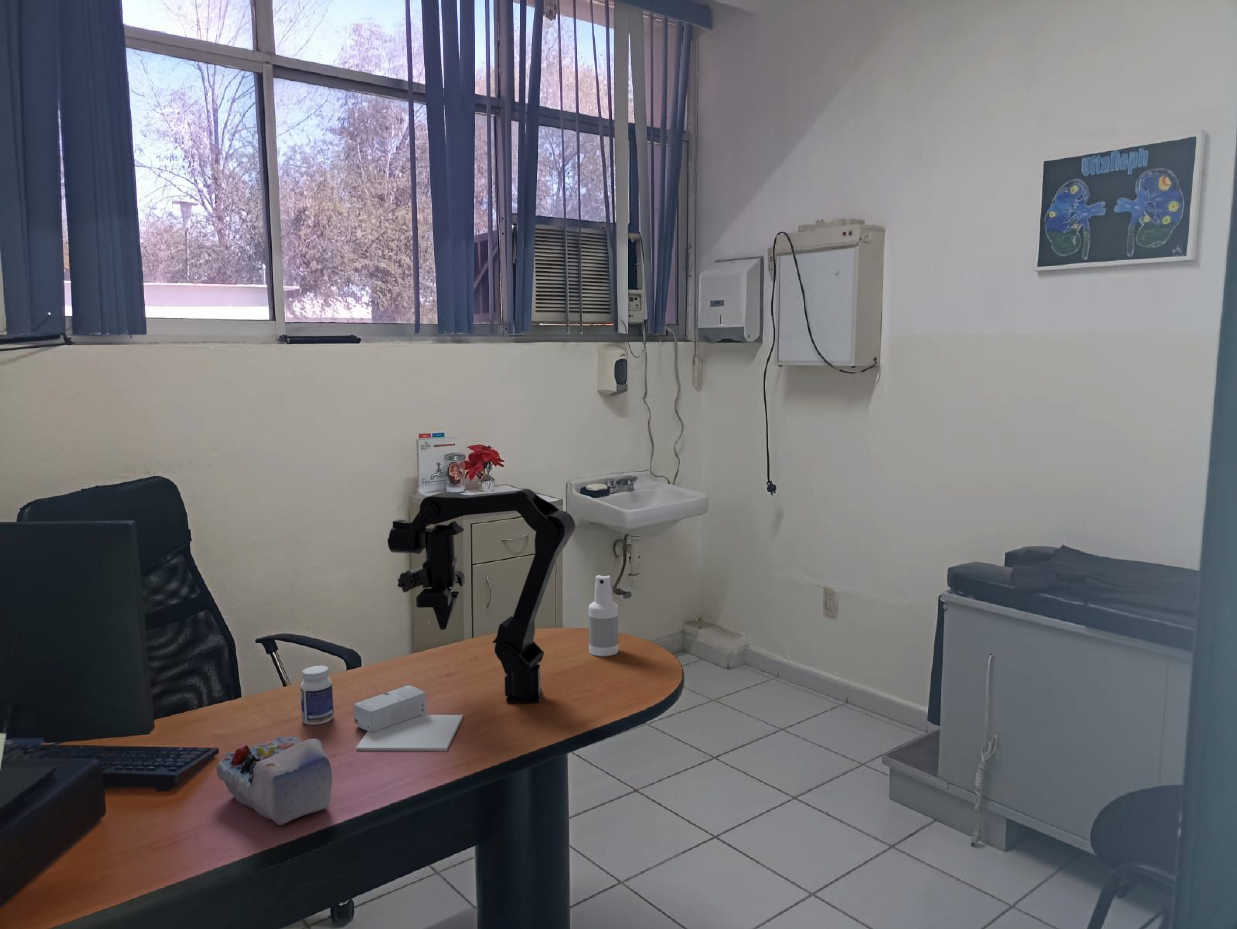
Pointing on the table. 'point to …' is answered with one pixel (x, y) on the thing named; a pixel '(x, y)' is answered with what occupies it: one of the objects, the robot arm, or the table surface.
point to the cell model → (279, 777)
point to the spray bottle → (603, 620)
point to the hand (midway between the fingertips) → (443, 629)
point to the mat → (414, 734)
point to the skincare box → (390, 708)
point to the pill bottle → (316, 696)
